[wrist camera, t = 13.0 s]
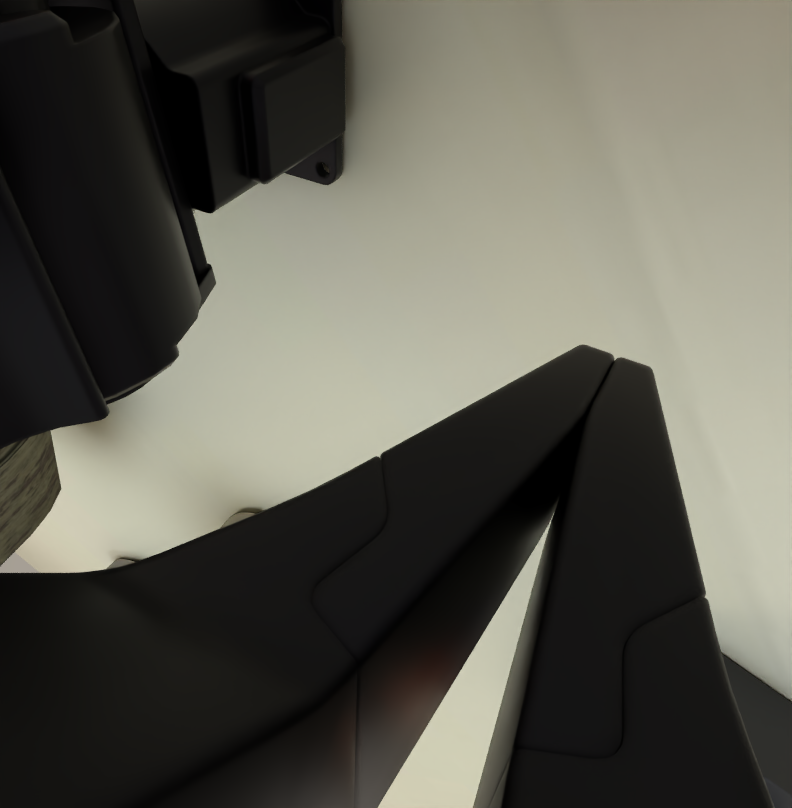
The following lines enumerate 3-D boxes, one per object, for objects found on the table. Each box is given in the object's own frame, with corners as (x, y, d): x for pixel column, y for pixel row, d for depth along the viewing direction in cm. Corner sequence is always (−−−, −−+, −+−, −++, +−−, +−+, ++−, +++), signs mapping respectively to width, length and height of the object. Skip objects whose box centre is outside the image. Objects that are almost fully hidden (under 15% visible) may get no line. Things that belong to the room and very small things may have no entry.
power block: (535, 686, 37) (496, 785, 33) (665, 614, 28) (632, 736, 25) (687, 795, 36) (665, 909, 32) (866, 754, 28) (862, 900, 24)
